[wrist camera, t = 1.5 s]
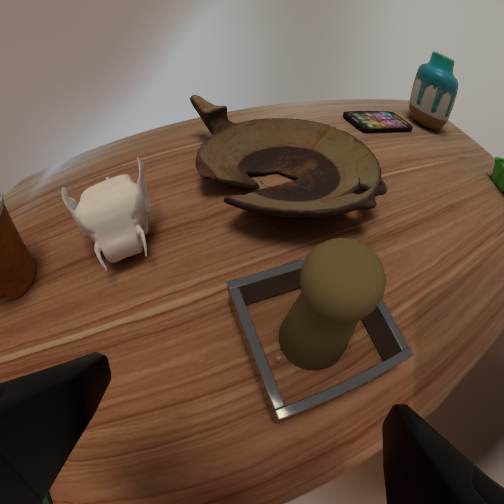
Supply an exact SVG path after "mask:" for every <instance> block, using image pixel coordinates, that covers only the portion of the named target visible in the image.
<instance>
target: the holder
mask: <svg viewBox="0 0 504 504" xmlns="http://www.w3.org/2000/svg"><path fill="white" fill-rule="evenodd" d="M304 261H305V259H304V260H300V261H297V262H294V263H290V264H287V265H283V266H280V267H276V268H273V269H270V270H266V271H263V272H259V273H256V274H252V275H249V276H245V277H241V278H238V279H234V280H231V281H227V288H228V296H229V303H230V306H231V308H232V311H233V314H234V317H235V320H236V323H237V326H238V328H239V331H240V334H241V337H242V339H243V342H244V345H245V348H246V350H247V353H248V356H249V359H250V361H251V364H252V367H253V369H254V372H255V375H256V377H257V380H258V383H259V385H260V388H261V390H262V393H263V396H264V398H265V401H266V403H267V406H268V408H269V411H270V413H271V416H272V418H273V421H274V423H277V422H279V421H282V420H285V419H288V418H290V417H293V416H296V415H298V414H301V413H303V412H306V411H308V410H310V409H313V408H315V407H318V406H320V405H322V404H324V403H327V402H329V401H331V400H333V399H336V398H338V397H340V396H342V395H344V394H346V393H348V392H350V391H352V390H354V389H356V388H358V387H360V386H362V385H364V384H366V383H368V382H370V381H372V380H374V379H375V378H377V377H379V376H381V375H383V374H384V373H386V372H388V371H390V370H391V369H393V368H395V367H396V366H398V365H399V364H401V363H402V362H404V361H405V360H407V359H408V358H410V357H411V356H413V353H412V351H411V349H410V347H409V346H408V344H407V342H406V340H405V338H404V337H403V335H402V333H401V331H400V329H399V328H398V326H397V324H396V322H395V320H394V319H393V317H392V315H391V314H390V312H389V310H388V308H387V307H386V305H385V303H384V302H383V300H382V299H381V301H380V303H379V304H378V306H377V307H376V309H375V310H374V311H373V312H372V313H370V314H369V315H368V316H366V317H365V318H364V319H362V321H363V323H364V324H365V326H366V328H367V330H368V332H369V334H370V336H371V338H372V339H373V341H374V343H375V345H376V347H377V349H378V351H379V353H380V355H381V357H382V359H383V362H382V363H380V364H378V365H376V366H374V367H372V368H370V369H368V370H366V371H365V372H363V373H361V374H359V375H357V376H355V377H352V378H350V379H348V380H346V381H344V382H342V383H340V384H338V385H335V386H333V387H331V388H329V389H327V390H324V391H322V392H320V393H317V394H315V395H313V396H310V397H308V398H305V399H303V400H300V401H298V402H295V403H292V404H290V405H287V406H285V403H284V401H283V399H282V396H281V394H280V391H279V389H278V386H277V384H276V381H275V379H274V376H273V374H272V371H271V369H270V366H269V364H268V361H267V359H266V356H265V354H264V351H263V349H262V346H261V343H260V341H259V338H258V336H257V333H256V331H255V328H254V325H253V323H252V320H251V318H250V315H249V312H248V310H247V307H246V304H250V303H253V302H256V301H259V300H263V299H266V298H269V297H273V296H276V295H279V294H282V293H285V292H288V291H292V290H295V289H298V288H300V273H301V269H302V266H303V264H304Z"/></svg>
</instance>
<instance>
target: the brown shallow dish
mask: <svg viewBox="0 0 504 504" xmlns="http://www.w3.org/2000/svg"><path fill="white" fill-rule="evenodd" d="M190 100H191V102H192V104H193V106H194V108H195V109H196V111H197V112H198V114H199V115H200V117H201V118H202V120H203V122H204V123H205V125H206V126H207V128H208V129H209V131H210V132H211V134H212V136H211V137H210V138H209V139H208V140H207V141H206V142H204V144H202V146H201V147H200V149H199V151H198V153H197V156H196V168H197V170H198V174H199V175H200V176H201V177H204V178H206V179H209V180H212V181H216V182H221V183H224V184H228V185H232V186H237V187H243V188H245V189H246V188H251V189H259V184H258V183H257V182H255V181H254V180H253V179H252V178H250V177H249V176H248V175H261V174H269V173H276V172H277V173H281V174H283V175H286V176H289V177H292V178H296V179H297V180H295V181H292V182H289V183H285V184H282V185H277V186H273V187H269V188H265V189H261V190H257V191H254V192H252V193H248V194H246V195H237V196H230V195H229V196H226V197H225V198H224V202H225V203H227V204H229V205H232V206H235V207H238V208H240V209H243V210H247V211H251V212H256V213H261V214H266V215H272V216H280V217H292V218H307V217H328V216H335V215H340V214H344V213H348V212H351V211H353V210H359V209H372V208H374V207H375V206H376V202H375V196H377V195H383V194H385V193H386V192H387V187H386V185H385V183H384V182H383V180H382V179H381V168H380V166H379V163H378V161H377V159H376V157H375V155H374V154H373V153H372V152H371V151H370V150H369V148H368V147H367V146H365V144H363V143H362V142H361V141H359V140H358V139H357V138H355V137H354V136H352V135H351V134H349V133H347V132H345V131H342V130H337V129H336V128H335V127H332V126H329V125H325V124H321V123H318V122H313V121H307V120H300V119H287V118H285V119H282V118H281V119H277V118H276V119H274V118H273V119H257V120H256V119H255V120H251V121H245V122H241V123H232V122H230V121H229V120H228V118H227V107H226V106H215V105H213V104H211V103H209V102H207V101H206V100H205V99H203V98H201V97H200V96H197V95H193V96H192V97H191V98H190ZM247 174H248V175H247ZM260 182H262V183H263V184H265V183H264V182H263V181H262V180H261V181H260ZM265 185H267V184H265ZM360 190H362V191H366V192H364V193H361V194H355V192H357V191H360Z"/></svg>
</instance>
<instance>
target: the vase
mask: <svg viewBox="0 0 504 504" xmlns="http://www.w3.org/2000/svg"><path fill="white" fill-rule="evenodd" d="M453 66H454V60H452V59H450V58H448V57H446V56H444V55H442V54H439V53H437V52H433V53H432V56H431V59H430V61H429V63H427V64H422V65H421V66H420V67H419V69H418V72H417V74H416V77H415V81H414V85H413V88H412V92H411V98H410V104H409V109H410V113H411V115H412V117H413V118H414V119H415V120H416V121H417V122H419V123H420V124H422V125H424V126H426V127H428V128H432V129H439V128H441V127H443V126H444V125H445V123H446V122H447V120H448V118H449V116H450V113H451V111H452V108H453V105H454V102H455V98H456V94H457V89H458V82H457V79H456V78H455V77H454V76H453Z"/></svg>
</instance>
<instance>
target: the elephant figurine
mask: <svg viewBox="0 0 504 504" xmlns="http://www.w3.org/2000/svg"><path fill="white" fill-rule="evenodd" d="M138 166H139V171H140V173H139V178H138V182H137V184H135V183H134V182H133V180H132V179H131V177H130V176H129V175H126V174H124V175H119V176H116V177H114V178H111V179H109V177H106V179H107V180H106V181H103V182H101V183H98V184H96V185H94V186H91V187H89V188H87V189H86V190H85V191H84V192H83V193H82V195H81V199H80V202H79V204H78V205H77V203H76V201H75V199H73V198H69V197H68V193H67V190H66V188H65V187H62V189H61V193H62V198H63V201H64V203H65V205H66V207H67V208H68V210H69V212H70V213H71V215H72V217H73V219H74V220H75V222H76V223H77V225H78V227H79V229H80V232H81V235H82V236H83V237H84V238H87V236H89V237H90V238H92V240H93V241H94V242H95V245H94V248H95V249H94V251H95V253H96V255H97V257H98V259H99V261H100V263H101V264H102V266H103V267H104V268H105V270H106V271H107V269H106V266H105V264H104V262H103V260H102V258H101V255H100V251H102V252H103V254H104V256H105V258H106V259H107V260H108V261H109V262H117V261H119V260H121V259H124V258H126V257H129V256H132V255H135V254H138V253H141V252H142V249H143V245H144V250H145V255H146V257H147V248H146V240H145V235H146V234H147V233H148V216H147V213H148V214H149V213H151V210H152V209H151V204H150V201H149V199H148V197H147V185H146V182H145V180H144V170H145V167H146V166H145V165H144V164H143V163H142V161H141V160H140V159H139V157H138ZM140 237H141V238H140Z"/></svg>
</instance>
